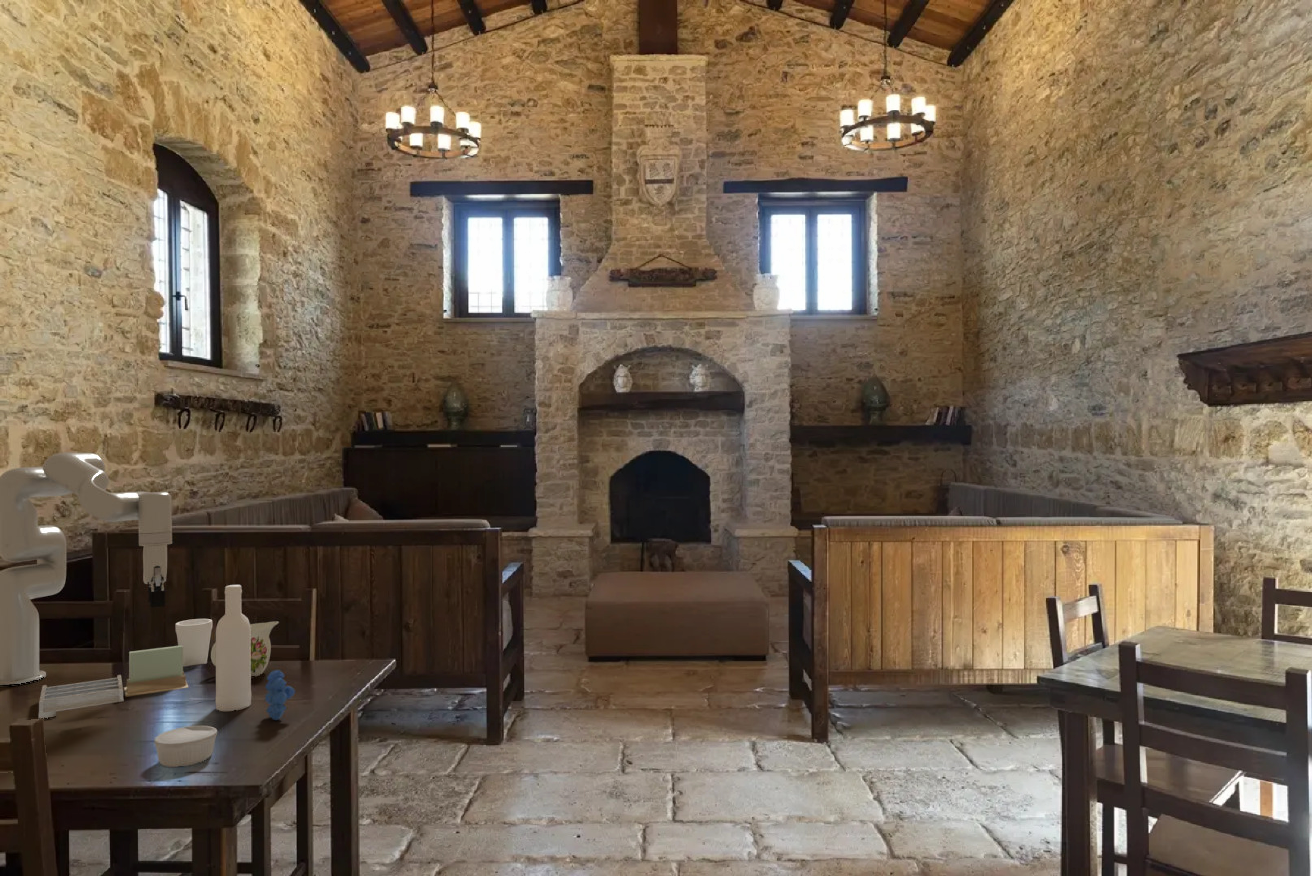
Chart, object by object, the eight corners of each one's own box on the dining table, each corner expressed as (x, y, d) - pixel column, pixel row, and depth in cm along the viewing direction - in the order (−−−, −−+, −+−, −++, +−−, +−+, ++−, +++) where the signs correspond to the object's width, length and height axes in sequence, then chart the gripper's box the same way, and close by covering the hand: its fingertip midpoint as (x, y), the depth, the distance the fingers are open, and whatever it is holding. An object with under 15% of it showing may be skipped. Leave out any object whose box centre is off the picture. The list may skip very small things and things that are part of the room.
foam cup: (184, 672, 238) (184, 626, 238) (170, 667, 243) (169, 622, 243) (218, 665, 245) (218, 621, 245) (203, 660, 251) (203, 617, 251)
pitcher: (205, 677, 231) (204, 628, 232) (271, 665, 244) (271, 618, 244) (217, 685, 224) (217, 634, 224) (285, 672, 236) (285, 624, 236)
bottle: (236, 712, 200) (235, 588, 201) (207, 710, 202) (207, 588, 202) (258, 702, 208) (258, 583, 209) (231, 700, 210) (230, 582, 210)
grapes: (301, 722, 193) (301, 671, 193) (269, 728, 189) (269, 676, 189) (290, 710, 202) (290, 660, 202) (260, 715, 198) (259, 665, 198)
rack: (42, 701, 211) (42, 685, 211) (121, 689, 220) (121, 674, 221) (38, 720, 196) (38, 703, 196) (123, 706, 206) (123, 690, 206)
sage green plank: (129, 690, 215) (129, 651, 215) (182, 682, 222) (182, 645, 222) (129, 692, 213) (129, 653, 213) (182, 684, 220) (182, 646, 220)
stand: (124, 692, 217) (124, 677, 217) (185, 684, 225) (185, 669, 225) (125, 702, 209) (125, 686, 209) (188, 692, 217) (188, 677, 217)
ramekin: (227, 749, 176) (227, 724, 176) (199, 769, 165) (199, 742, 165) (173, 750, 176) (173, 725, 176) (142, 770, 165) (142, 744, 165)
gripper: (137, 537, 223) (138, 601, 223) (140, 542, 209) (141, 610, 208) (169, 535, 227) (170, 598, 227) (174, 540, 213) (175, 606, 212)
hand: (156, 604), depth 218 cm, fingers open, 9 cm apart
